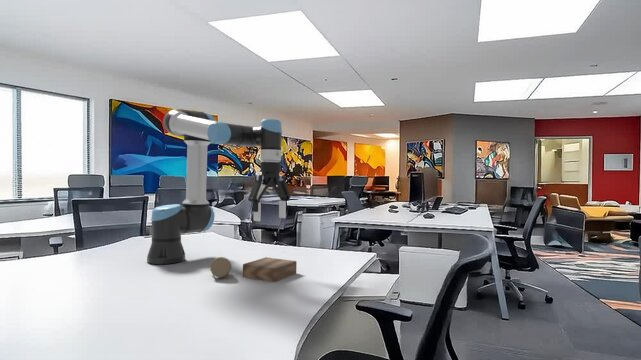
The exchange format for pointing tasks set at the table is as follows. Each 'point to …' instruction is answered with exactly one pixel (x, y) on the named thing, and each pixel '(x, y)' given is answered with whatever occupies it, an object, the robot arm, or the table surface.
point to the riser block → (269, 269)
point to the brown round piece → (220, 267)
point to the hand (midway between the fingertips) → (270, 219)
